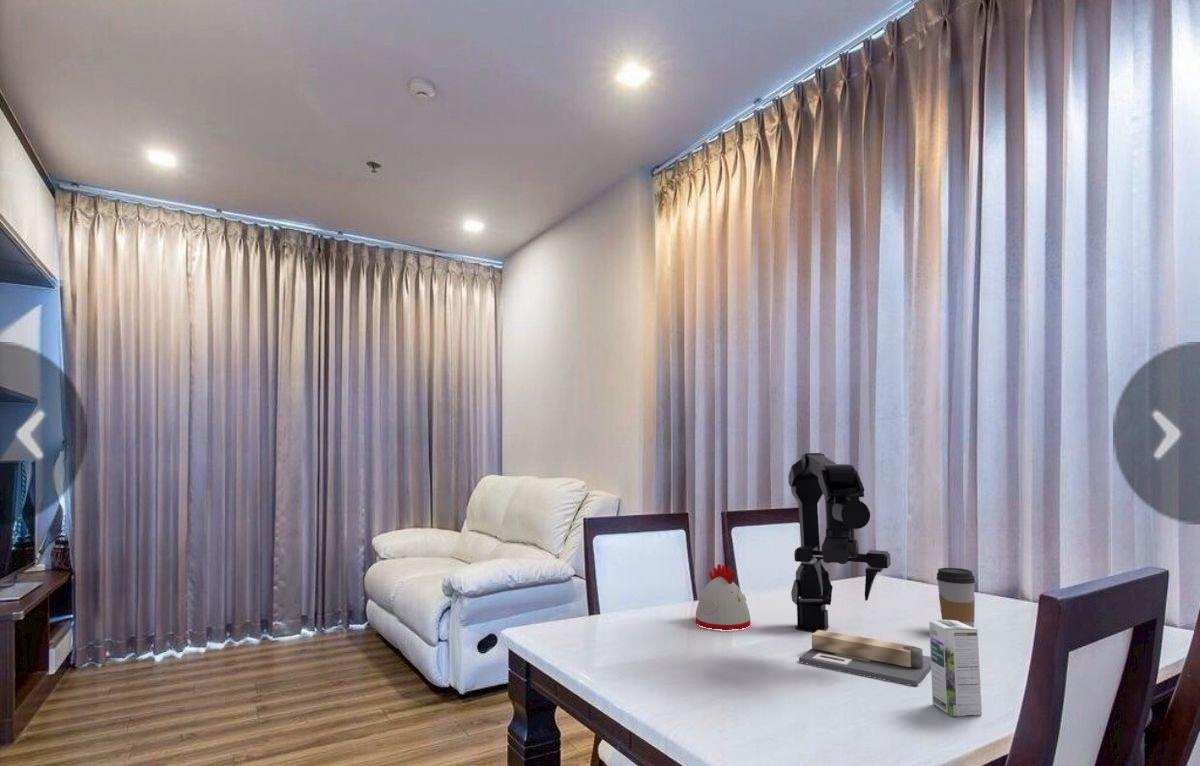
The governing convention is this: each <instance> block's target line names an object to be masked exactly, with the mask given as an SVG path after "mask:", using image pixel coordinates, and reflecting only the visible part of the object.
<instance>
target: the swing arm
mask: <svg viewBox="0 0 1200 766" xmlns="http://www.w3.org/2000/svg"><path fill="white" fill-rule="evenodd" d="M811 649H817V650H822V651H827V652H833V653H838V654H843V655H848V656H854V657H859V658H864V659H870V660H875V661H880V662H886V663H891V664H896V665H901V666H907V667H913V668H921V667H923V655H924V653H923V649H922V648H920V647H918V646H915V645H909V644H904V643H899V642H893V641H892V642H891V641H887V640H879V639H874V638H868V637H863V636H857V635H852V634H846V633H845V634H844V633H839V632H833V631H828V630H824V631H822V630H818V631H816V632H813V633H811Z"/></svg>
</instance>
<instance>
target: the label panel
mask: <svg viewBox="0 0 1200 766" xmlns="http://www.w3.org/2000/svg"><path fill="white" fill-rule="evenodd" d="M798 662H803V663H802V664H804V663H808V664H807V665H809V664H812V665H811V666H814V665H816V666H815V667H819V666H821V667H820V668H823V667H825V668H824V669H828V668H830V669H829V670H833V669H835V670H834V671H838V670H841V671H840V672H843V671H844V673H848V672H850V674H853V673H855V674H854V675H858V674H861V675H860V676H863V675H865V676H864V677H867V676H871V677H870V678H872V677H876V678H875V679H877V678H881V679H880V680H882V679H885V680H884V681H887V680H890V681H889V682H892V681H894V683H897V682H900V683H899V684H902V683H904V684H903V685H907V684H910V685H909V686H911V685H914V686H913V687H916V686H917V687H919V685H920V684H921V683H922V681H923V680H924V679H925V677H926V676H927V675H928V674H929V673H930V672H931V656H928V655H924V654H923V667H921V668H913V667H907V666H901V665H896V664H891V663H886V662H880V661H875V660H870V659H864V658H859V657H854V656H848V655H843V654H838V653H833V652H827V651H822V650H817V649H812V648H811V649H810V650H808V651H806V652H805V653H803V654H802V655H801V656H799V657H798ZM920 682H921V683H920ZM919 683H920V684H919ZM918 684H919V685H918ZM915 685H916V686H915Z"/></svg>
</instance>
